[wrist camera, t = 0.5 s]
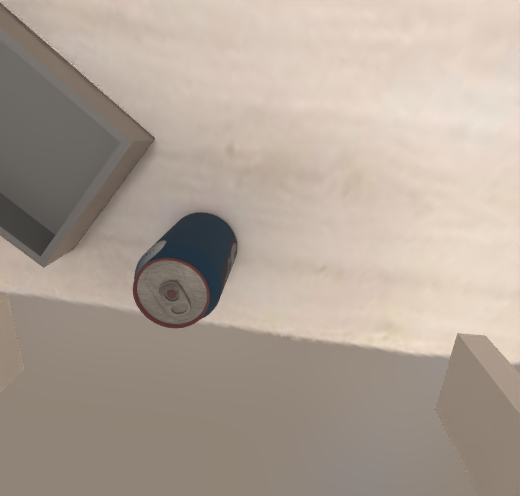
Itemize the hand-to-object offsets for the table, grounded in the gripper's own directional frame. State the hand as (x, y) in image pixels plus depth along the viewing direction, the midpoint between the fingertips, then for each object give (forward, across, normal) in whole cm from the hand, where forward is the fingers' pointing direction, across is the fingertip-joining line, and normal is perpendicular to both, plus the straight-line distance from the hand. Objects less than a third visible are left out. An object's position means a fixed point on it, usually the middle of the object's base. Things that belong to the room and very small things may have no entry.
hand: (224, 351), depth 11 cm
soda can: (+26, -6, -6) cm, 28 cm away
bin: (+26, -24, +4) cm, 36 cm away
